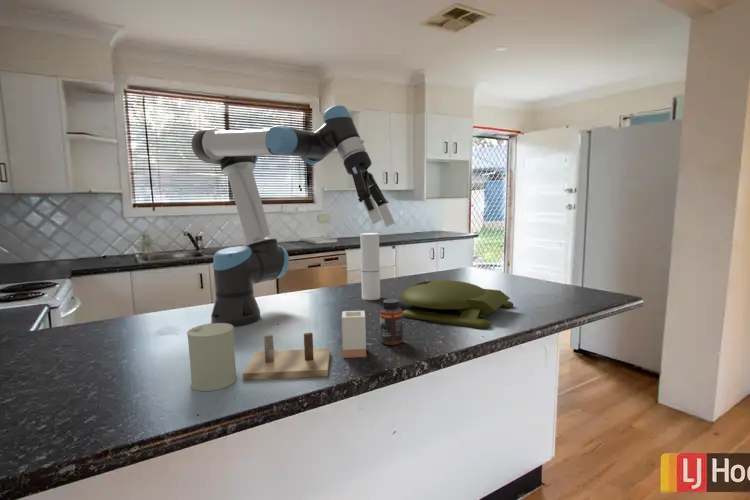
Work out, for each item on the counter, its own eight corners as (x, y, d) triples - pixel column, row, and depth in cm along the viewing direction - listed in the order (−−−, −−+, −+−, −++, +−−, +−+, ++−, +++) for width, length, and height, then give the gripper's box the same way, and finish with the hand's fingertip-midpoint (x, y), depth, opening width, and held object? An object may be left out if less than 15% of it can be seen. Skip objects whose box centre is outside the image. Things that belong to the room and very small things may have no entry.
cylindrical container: (381, 295, 164) (379, 232, 161) (379, 300, 157) (378, 234, 154) (363, 295, 164) (361, 233, 162) (360, 300, 157) (359, 234, 154)
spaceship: (515, 307, 144) (515, 279, 143) (487, 332, 118) (488, 298, 117) (423, 296, 163) (423, 272, 161) (383, 316, 137) (382, 286, 136)
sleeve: (343, 357, 100) (341, 317, 99) (343, 349, 105) (342, 311, 104) (366, 356, 100) (365, 316, 99) (365, 348, 106) (364, 310, 104)
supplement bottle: (405, 339, 112) (405, 298, 111) (399, 346, 106) (398, 303, 105) (384, 337, 114) (383, 297, 113) (377, 344, 108) (376, 302, 107)
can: (199, 373, 92) (195, 321, 91) (241, 371, 93) (238, 319, 92) (184, 392, 83) (179, 335, 82) (230, 390, 84) (227, 332, 83)
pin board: (243, 380, 88) (240, 346, 88) (256, 357, 101) (254, 327, 100) (327, 376, 89) (326, 342, 89) (330, 354, 102) (329, 324, 101)
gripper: (350, 138, 106) (384, 213, 103) (378, 160, 130) (406, 220, 127) (326, 153, 108) (358, 226, 105) (357, 171, 132) (384, 231, 129)
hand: (384, 223), depth 116 cm, fingers open, 13 cm apart
